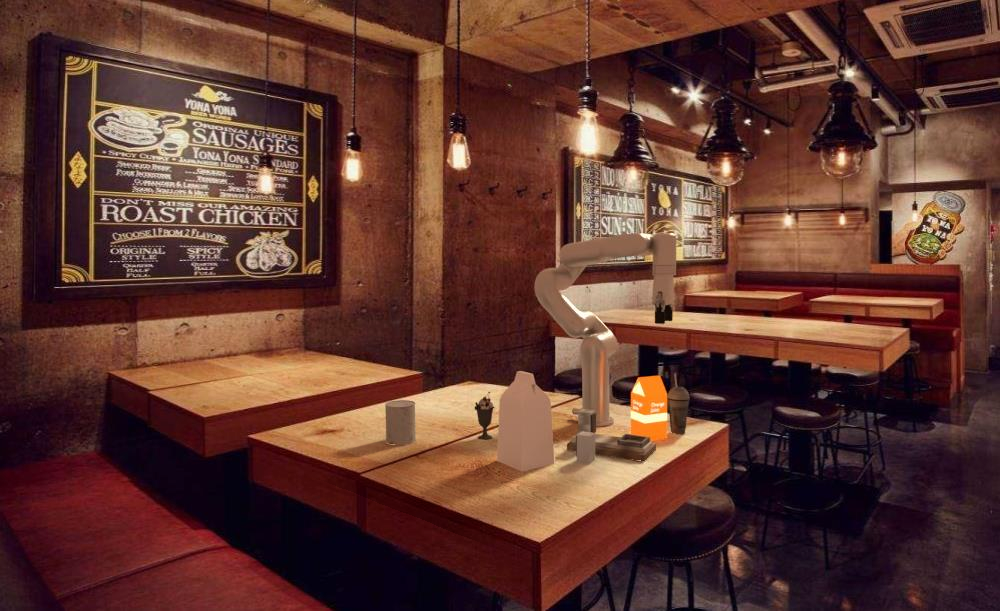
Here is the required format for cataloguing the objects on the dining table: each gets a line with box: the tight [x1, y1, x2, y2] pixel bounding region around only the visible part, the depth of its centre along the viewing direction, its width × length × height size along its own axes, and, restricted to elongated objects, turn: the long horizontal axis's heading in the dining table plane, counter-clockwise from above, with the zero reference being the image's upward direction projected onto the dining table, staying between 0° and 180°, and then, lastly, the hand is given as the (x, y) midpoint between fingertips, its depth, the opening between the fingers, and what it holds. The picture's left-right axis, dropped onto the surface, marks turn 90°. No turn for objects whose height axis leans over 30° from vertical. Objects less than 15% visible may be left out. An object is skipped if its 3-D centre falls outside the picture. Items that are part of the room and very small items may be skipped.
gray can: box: [384, 399, 417, 446], centre depth 204 cm, size 10×10×12 cm
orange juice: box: [630, 375, 668, 442], centre depth 205 cm, size 8×9×20 cm
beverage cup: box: [667, 372, 690, 435], centre depth 211 cm, size 7×7×20 cm
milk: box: [496, 370, 555, 473], centre depth 181 cm, size 12×12×26 cm
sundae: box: [474, 391, 496, 441], centre depth 207 cm, size 7×7×15 cm
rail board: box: [566, 409, 657, 462], centre depth 192 cm, size 24×12×11 cm, turn 61°
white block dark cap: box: [575, 431, 596, 465], centre depth 183 cm, size 4×4×8 cm
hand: (663, 322), depth 211 cm, fingers open, 9 cm apart
